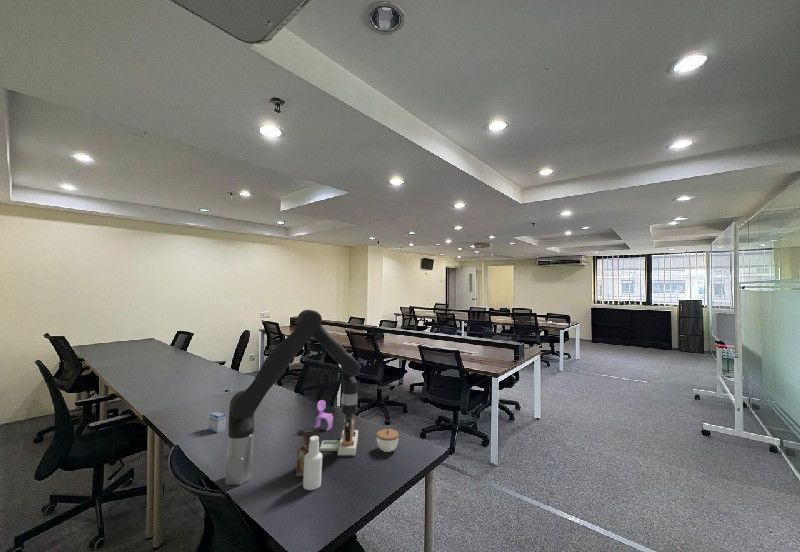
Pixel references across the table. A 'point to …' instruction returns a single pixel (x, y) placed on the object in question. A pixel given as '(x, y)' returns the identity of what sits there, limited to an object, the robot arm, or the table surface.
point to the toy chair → (323, 415)
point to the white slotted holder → (348, 449)
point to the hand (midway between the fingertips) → (348, 438)
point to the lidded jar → (387, 439)
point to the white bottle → (312, 465)
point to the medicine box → (217, 422)
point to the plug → (349, 443)
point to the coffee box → (304, 447)
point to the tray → (329, 445)
